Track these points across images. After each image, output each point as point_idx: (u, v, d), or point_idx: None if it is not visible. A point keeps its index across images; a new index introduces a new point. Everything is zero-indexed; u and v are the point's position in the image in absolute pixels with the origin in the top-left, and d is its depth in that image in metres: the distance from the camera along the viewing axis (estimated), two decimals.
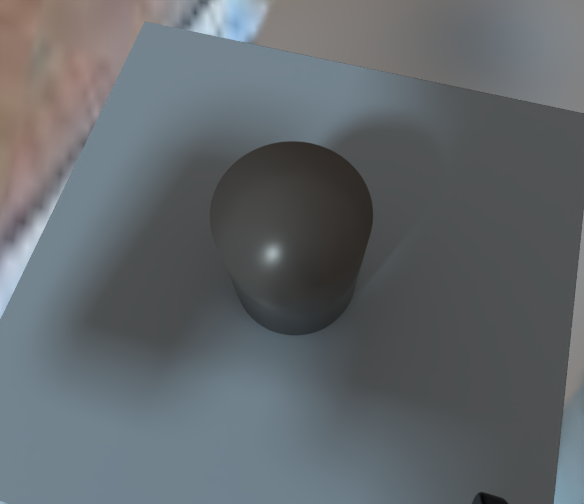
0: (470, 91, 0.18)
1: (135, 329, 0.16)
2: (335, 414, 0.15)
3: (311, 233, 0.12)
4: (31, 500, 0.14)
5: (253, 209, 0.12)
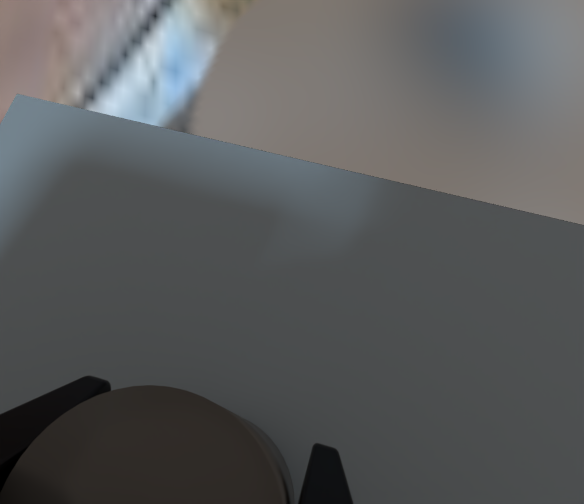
0: (468, 200, 0.13)
1: None
2: None
3: None
4: None
5: None
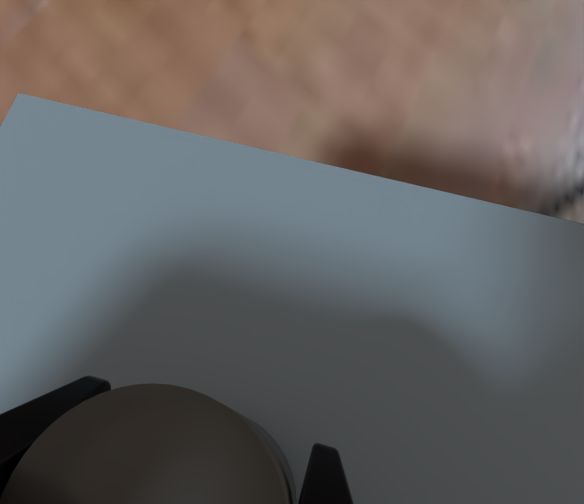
0: (470, 199, 0.13)
1: None
2: None
3: None
4: None
5: None
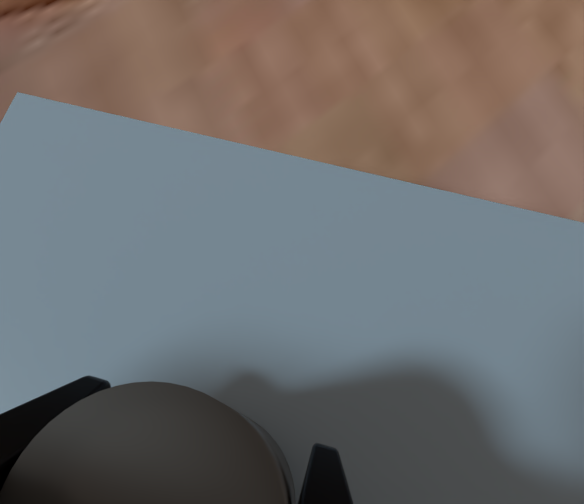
0: (469, 198, 0.13)
1: None
2: None
3: None
4: None
5: None
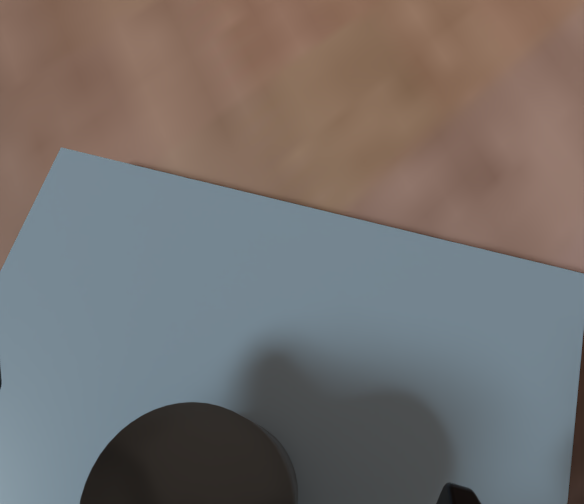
0: (442, 240, 0.15)
1: None
2: None
3: None
4: None
5: None
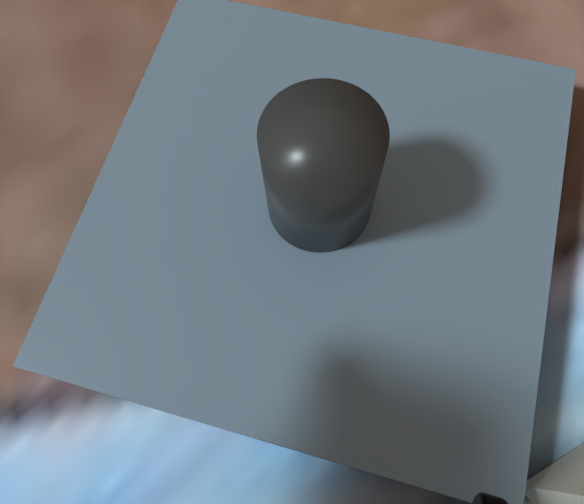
0: (469, 49, 0.21)
1: (184, 249, 0.18)
2: (355, 315, 0.17)
3: (339, 149, 0.14)
4: (102, 384, 0.17)
5: (292, 131, 0.15)
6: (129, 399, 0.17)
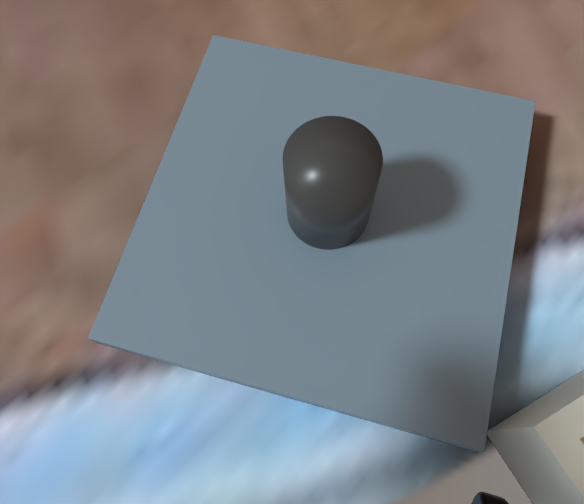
0: (449, 84, 0.26)
1: (220, 246, 0.23)
2: (356, 298, 0.22)
3: (345, 170, 0.19)
4: (159, 352, 0.21)
5: (309, 157, 0.19)
6: (180, 363, 0.21)
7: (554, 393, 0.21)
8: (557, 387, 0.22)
